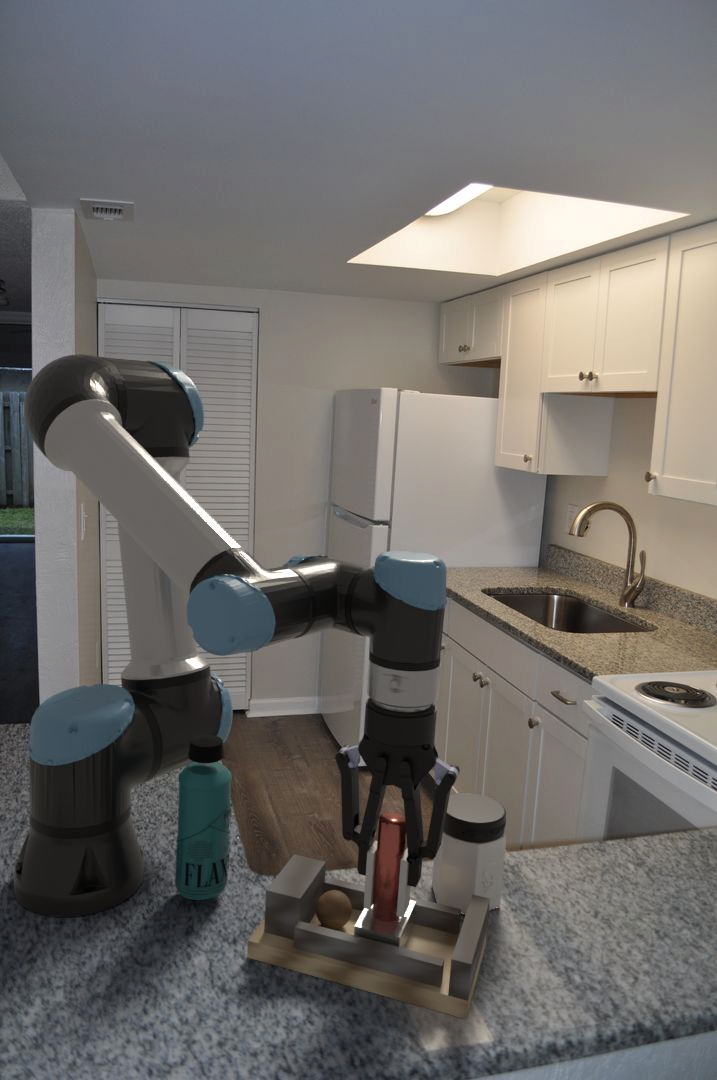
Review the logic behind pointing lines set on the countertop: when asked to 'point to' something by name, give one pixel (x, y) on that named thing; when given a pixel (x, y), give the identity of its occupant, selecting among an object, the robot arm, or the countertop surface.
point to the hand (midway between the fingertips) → (386, 905)
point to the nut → (333, 909)
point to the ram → (387, 888)
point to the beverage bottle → (203, 821)
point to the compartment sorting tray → (372, 942)
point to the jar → (470, 852)
